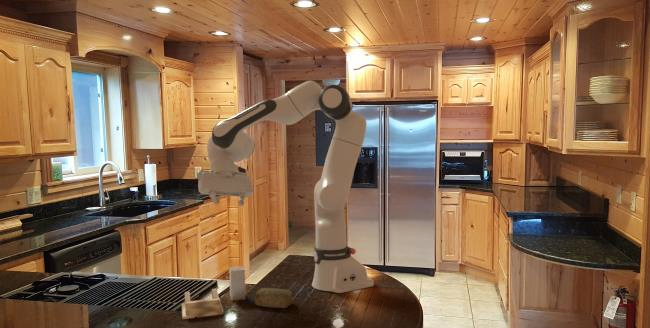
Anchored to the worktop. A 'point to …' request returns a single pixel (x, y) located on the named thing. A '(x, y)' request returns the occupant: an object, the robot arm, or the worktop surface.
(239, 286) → the block
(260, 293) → the stone block
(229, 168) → the robot arm
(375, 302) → the worktop surface
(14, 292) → the worktop surface
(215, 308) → the cradle
